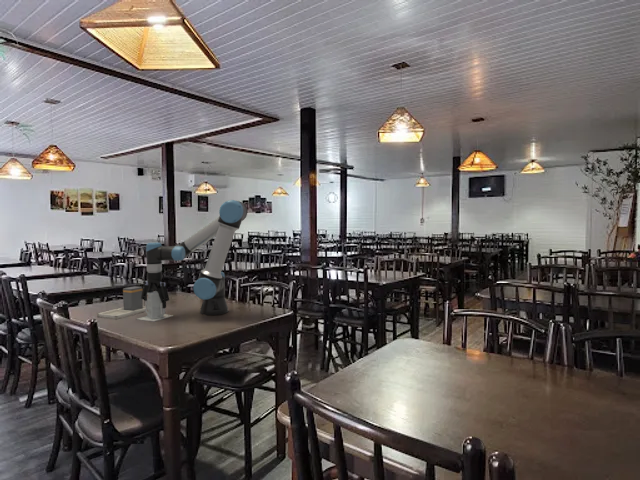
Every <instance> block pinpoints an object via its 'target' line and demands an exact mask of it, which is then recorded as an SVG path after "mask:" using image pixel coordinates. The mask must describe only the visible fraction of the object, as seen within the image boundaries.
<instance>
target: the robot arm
mask: <svg viewBox="0 0 640 480" xmlns="http://www.w3.org/2000/svg"><path fill="white" fill-rule="evenodd" d="M218 212H219V213H218V214H219V216H218V217H217V218H215V219H214V220H212V221H211V222H210V223H209V224H207V225H205V226H204V227H203V228H201V229H199V230H198V231H197V232H195V233H194V234H192V235H191V236H189V237H188V238H186V239H184V241H181V242H180V244H178V245H172V246H171V245H169V246H167V245H166V246H164V245H162V243H161V242H147V243H146V247H145V252H146V254H145V255H146V272H147V273H146V280H145V281H143V282H142V285H143V286H142V296H141V299H143V301H144V306H145V312H144V313H145V314H147V293H149V292H154V290H155V292H156V291H157V292H158V293H159V297H160V299H161V302H160V308H161V315H163V314H166V315H167V313H166V308H167V302H169V301H170V297H169V293H168V292H169V291H168V289H167V282H166V281H164V282H162V279H163V272H162V271H163V268H162V267H163V265H162V264H163V261H173V262H174V261H176V262H178V261H183V260H184V259H185V258H187V257H189V255H190V254H191V253H192V254H193V252H194V251H196V250H197V249H198V248H200V247H201V246H203V245H204V244H206V243H207V242H209V241H210V240H212V239H214V240H213V243H212V247H211V249H210V252H209V256H208V258H207V260H206V261H207V262H206V264H205V266H204V267H205V268H203V269H201V270H200V273H199V275H198V278H197V280H195V282H194V283H193V287H192V288H193V292H194V295H195V297H197V298H199V299H201V300H202V303H201V306H200V314H201V315H204V316H205V315H206V316H218V315H223V314H227V313H228V312H229V306H228V304H227V300H226V288H225V287H226V286H225V285H226V281H225V279H226V277H225V272H223V267H224V264H225V262H226V259H227V256H228V254H229V250H230V248H231V244H232V242H233V239H234V237H235V233H236V231H238V230H239V229H240V227H241V224H242V222H243V221H244V220H245V219H246V218H247V216H248V208H247V205H245V203H243V202H242V201H239V200H234V199H230V200H226V201H224V202H223V203H222V204H221V205H220V207H219V211H218Z"/></svg>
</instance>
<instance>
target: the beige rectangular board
mask: <svg viewBox="0 0 640 480" xmlns="http://www.w3.org/2000/svg"><path fill="white" fill-rule="evenodd" d="M142 313H146V312H145V305H143V309H139V310H135V311H129V310H124V306H123V307H120V308H114V309H110V310H107V311H103V312H99V313H96V317H97V318H104V319H110V320H119V319H122V318H126V317H130V316H134V315H138V314H142Z"/></svg>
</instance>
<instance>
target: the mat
mask: <svg viewBox="0 0 640 480" xmlns="http://www.w3.org/2000/svg"><path fill="white" fill-rule="evenodd" d="M171 317H174V315H173V314H167V313H166V314H164V317H161V318H155V319H152V318H150V317H148V316H147V315H146V316H143V317H138V318H136V320H138V321H146V322H158V321H161V320H163V319H164V320H165V319H168V318H171Z"/></svg>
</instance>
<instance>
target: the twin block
mask: <svg viewBox="0 0 640 480" xmlns="http://www.w3.org/2000/svg"><path fill="white" fill-rule="evenodd" d="M142 291H143V286H135V285H134V286H130V287H129V286H128V287H125V288H124V287H123V288H122V297H123V299H122V301H123V302H122V303H123V305H122V306H123V307H124V310H129V311H135V310H139V309H143V306H144V302H143V301H144V300H143V299H141V296H142Z"/></svg>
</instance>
